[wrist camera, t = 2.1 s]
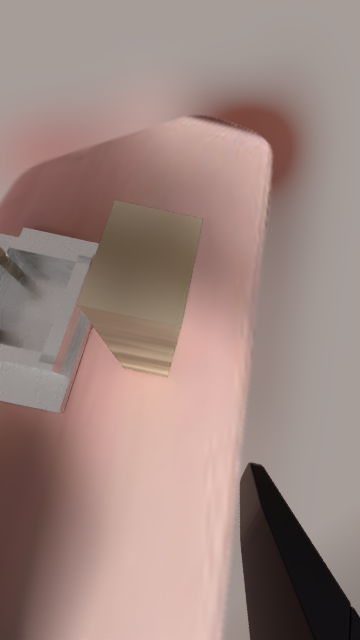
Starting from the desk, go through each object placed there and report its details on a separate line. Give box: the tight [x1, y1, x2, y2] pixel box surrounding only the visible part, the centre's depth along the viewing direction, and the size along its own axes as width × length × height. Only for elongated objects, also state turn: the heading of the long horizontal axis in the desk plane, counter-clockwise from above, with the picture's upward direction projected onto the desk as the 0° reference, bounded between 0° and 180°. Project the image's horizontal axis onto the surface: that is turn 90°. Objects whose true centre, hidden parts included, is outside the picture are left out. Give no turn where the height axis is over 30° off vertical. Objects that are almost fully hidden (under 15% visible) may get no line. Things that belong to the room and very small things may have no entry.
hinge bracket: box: [0, 228, 99, 413], centre depth 20 cm, size 14×8×5 cm, turn 169°
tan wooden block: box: [77, 200, 203, 377], centre depth 16 cm, size 4×4×13 cm
